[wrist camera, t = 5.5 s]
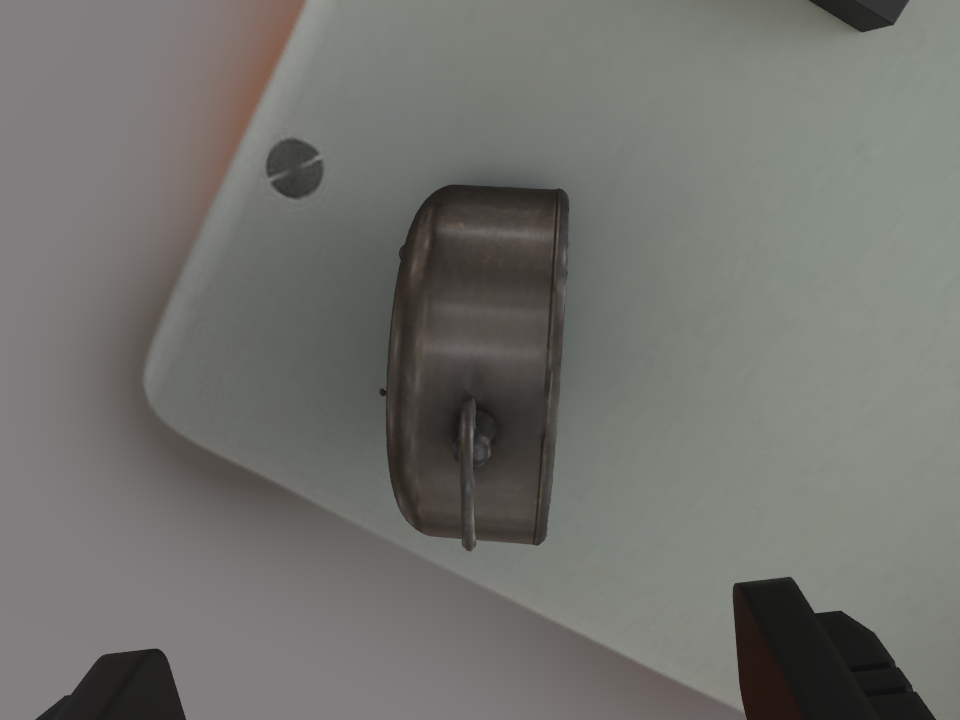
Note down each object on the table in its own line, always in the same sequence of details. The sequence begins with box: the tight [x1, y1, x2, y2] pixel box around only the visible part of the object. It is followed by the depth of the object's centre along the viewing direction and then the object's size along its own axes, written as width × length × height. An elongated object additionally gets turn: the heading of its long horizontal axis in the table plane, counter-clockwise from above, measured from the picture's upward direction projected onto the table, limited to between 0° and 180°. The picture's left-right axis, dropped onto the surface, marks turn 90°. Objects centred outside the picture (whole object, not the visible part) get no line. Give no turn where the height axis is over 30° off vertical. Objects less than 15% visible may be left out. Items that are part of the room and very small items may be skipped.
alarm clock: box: [379, 185, 569, 551], centre depth 24 cm, size 11×5×16 cm, turn 177°
